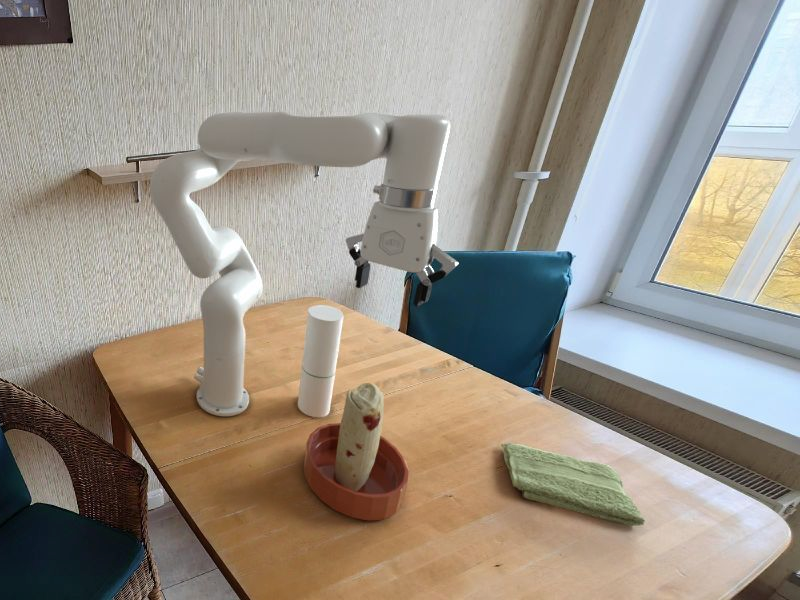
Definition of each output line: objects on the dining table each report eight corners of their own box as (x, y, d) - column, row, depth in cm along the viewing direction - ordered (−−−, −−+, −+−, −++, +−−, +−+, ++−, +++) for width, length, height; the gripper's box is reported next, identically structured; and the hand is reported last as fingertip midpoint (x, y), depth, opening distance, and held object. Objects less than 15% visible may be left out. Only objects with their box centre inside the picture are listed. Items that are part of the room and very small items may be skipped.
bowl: (285, 476, 82) (288, 452, 80) (332, 433, 92) (336, 411, 90) (375, 542, 70) (381, 516, 68) (418, 484, 80) (424, 460, 78)
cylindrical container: (329, 400, 102) (342, 307, 93) (330, 420, 96) (344, 322, 87) (298, 394, 104) (308, 303, 96) (296, 413, 98) (307, 318, 89)
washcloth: (496, 446, 88) (500, 434, 87) (611, 476, 80) (617, 463, 79) (511, 496, 77) (516, 483, 76) (646, 536, 70) (654, 523, 68)
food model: (365, 506, 75) (384, 415, 68) (326, 488, 79) (340, 401, 72) (374, 467, 83) (391, 382, 76) (338, 453, 86) (351, 371, 79)
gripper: (343, 192, 71) (331, 285, 78) (461, 211, 59) (436, 319, 65) (364, 186, 76) (351, 274, 82) (479, 201, 63) (453, 304, 69)
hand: (389, 294), depth 74 cm, fingers open, 9 cm apart
